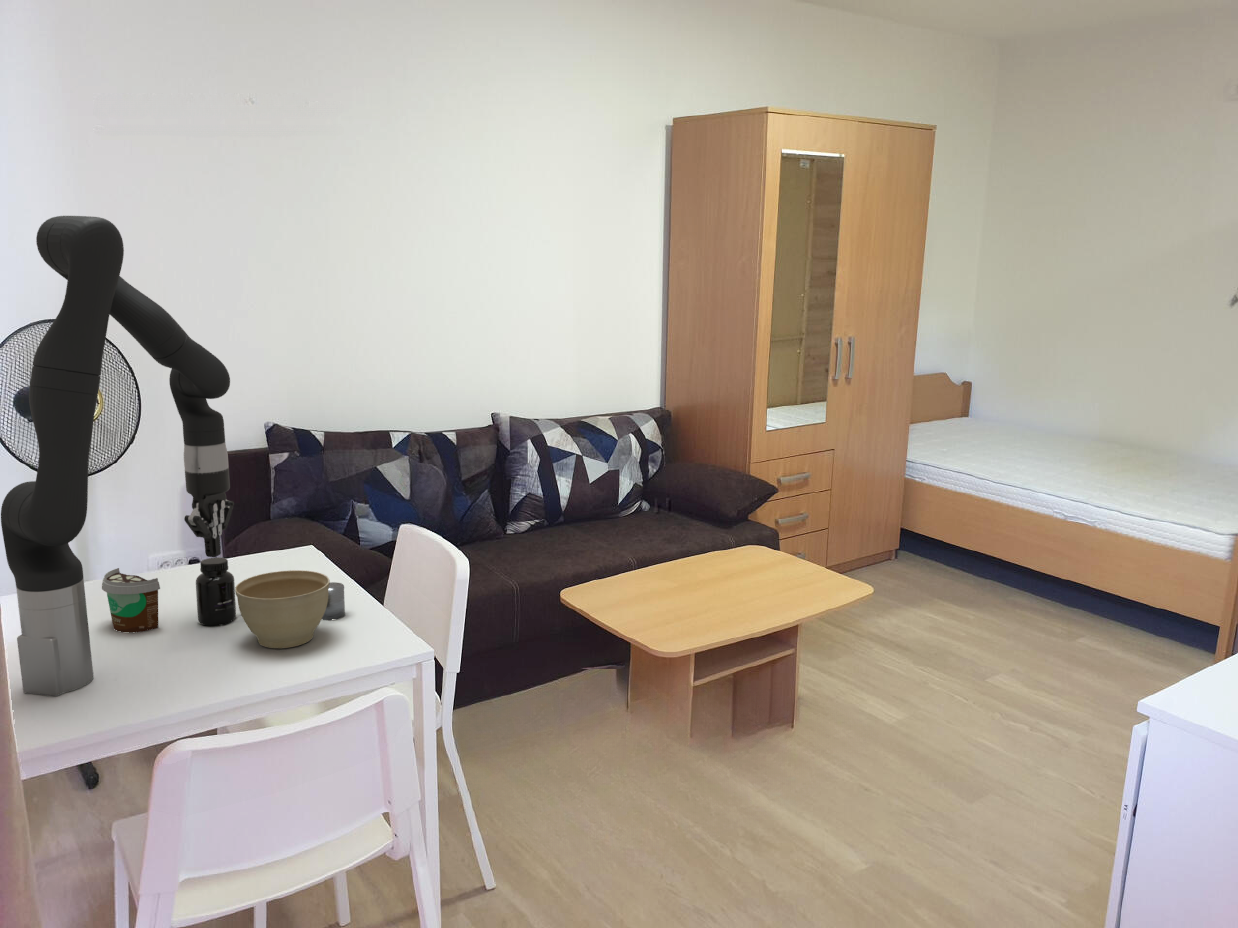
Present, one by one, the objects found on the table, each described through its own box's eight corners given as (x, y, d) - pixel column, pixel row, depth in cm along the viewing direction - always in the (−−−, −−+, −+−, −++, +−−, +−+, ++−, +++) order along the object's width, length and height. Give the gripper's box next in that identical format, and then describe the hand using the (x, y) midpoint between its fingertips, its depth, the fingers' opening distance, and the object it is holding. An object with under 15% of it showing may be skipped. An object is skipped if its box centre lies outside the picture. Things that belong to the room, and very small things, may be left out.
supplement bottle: (227, 627, 176) (223, 567, 173) (191, 626, 176) (187, 565, 174) (242, 614, 183) (238, 555, 180) (208, 613, 183) (203, 554, 180)
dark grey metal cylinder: (338, 621, 180) (336, 591, 179) (313, 619, 181) (312, 589, 180) (349, 611, 185) (348, 583, 184) (325, 610, 186) (324, 581, 185)
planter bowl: (348, 628, 177) (346, 574, 174) (298, 662, 161) (295, 603, 159) (275, 618, 181) (272, 565, 179) (219, 650, 166) (215, 592, 163)
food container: (91, 626, 175) (85, 576, 173) (121, 616, 180) (116, 567, 178) (133, 640, 169) (128, 588, 167) (163, 629, 174) (159, 578, 172)
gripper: (204, 475, 166) (211, 568, 170) (244, 460, 179) (250, 546, 182) (165, 473, 167) (173, 565, 171) (208, 458, 180) (215, 544, 184)
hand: (213, 555), depth 177 cm, fingers closed
